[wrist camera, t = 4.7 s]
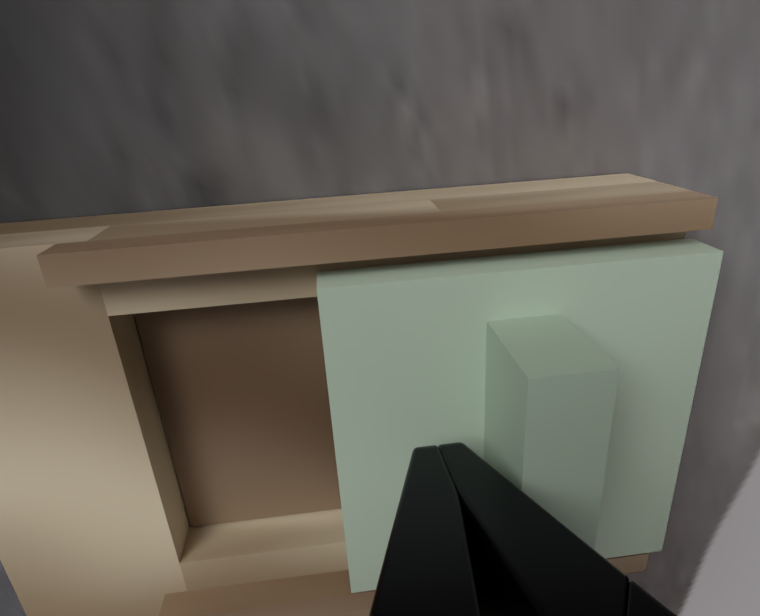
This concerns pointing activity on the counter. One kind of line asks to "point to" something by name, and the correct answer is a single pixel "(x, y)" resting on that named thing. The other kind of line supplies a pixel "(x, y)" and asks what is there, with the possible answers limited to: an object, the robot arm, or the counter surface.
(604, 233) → the board
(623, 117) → the counter surface
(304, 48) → the counter surface
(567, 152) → the counter surface
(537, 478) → the cover
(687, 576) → the counter surface
